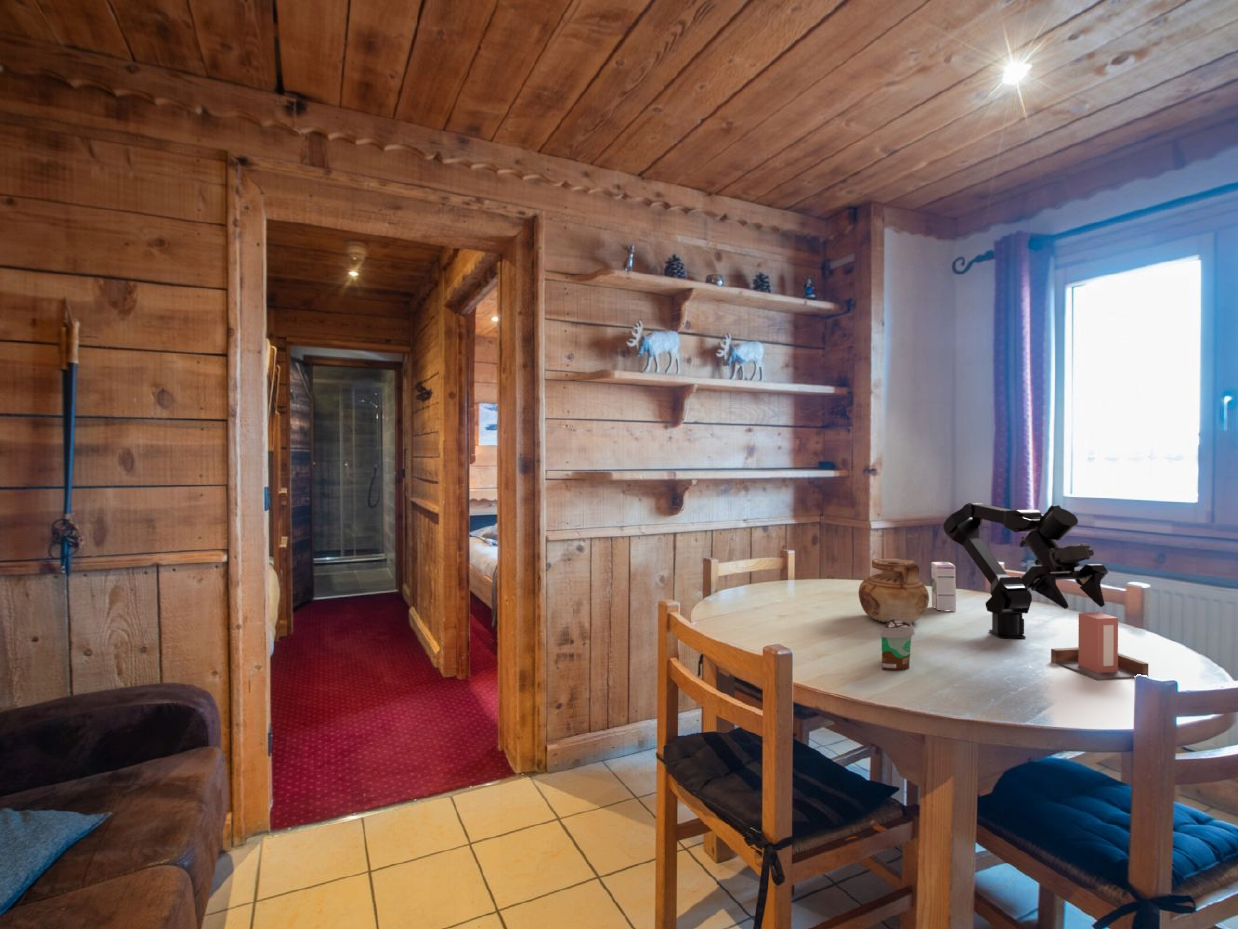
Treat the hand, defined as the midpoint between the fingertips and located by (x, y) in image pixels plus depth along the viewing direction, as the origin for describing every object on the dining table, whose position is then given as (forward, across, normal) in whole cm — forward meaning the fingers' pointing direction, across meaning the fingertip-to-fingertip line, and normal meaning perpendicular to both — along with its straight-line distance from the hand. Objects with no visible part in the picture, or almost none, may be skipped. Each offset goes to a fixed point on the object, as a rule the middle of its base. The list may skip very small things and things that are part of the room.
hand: (1084, 607), depth 146 cm
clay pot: (-20, -22, +40) cm, 50 cm away
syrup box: (-27, +1, +47) cm, 54 cm away
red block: (+12, 0, +7) cm, 14 cm away
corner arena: (+12, 0, +7) cm, 14 cm away
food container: (+6, -42, +13) cm, 45 cm away
